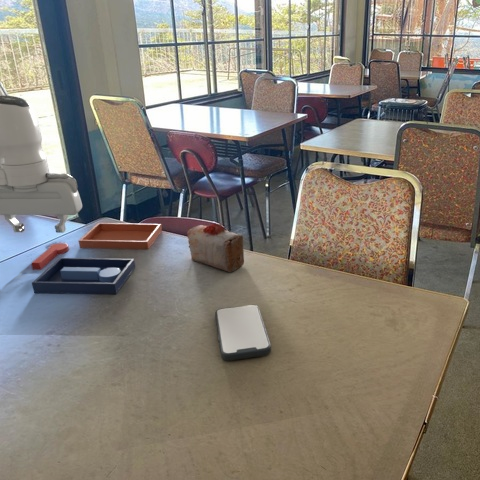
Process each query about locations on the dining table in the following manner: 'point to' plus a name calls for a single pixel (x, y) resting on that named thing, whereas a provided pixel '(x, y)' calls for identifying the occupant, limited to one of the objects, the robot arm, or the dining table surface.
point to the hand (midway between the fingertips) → (40, 231)
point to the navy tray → (55, 284)
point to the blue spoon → (90, 274)
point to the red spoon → (49, 255)
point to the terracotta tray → (121, 236)
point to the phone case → (241, 332)
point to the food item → (216, 247)
